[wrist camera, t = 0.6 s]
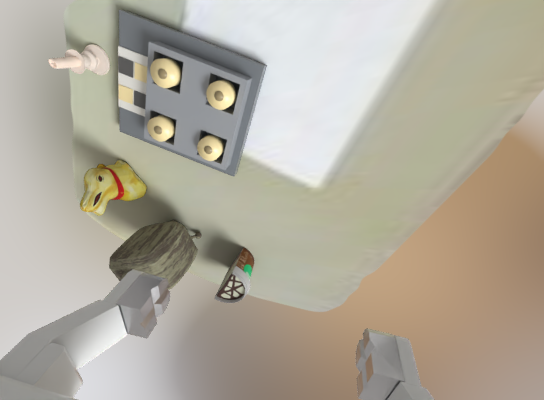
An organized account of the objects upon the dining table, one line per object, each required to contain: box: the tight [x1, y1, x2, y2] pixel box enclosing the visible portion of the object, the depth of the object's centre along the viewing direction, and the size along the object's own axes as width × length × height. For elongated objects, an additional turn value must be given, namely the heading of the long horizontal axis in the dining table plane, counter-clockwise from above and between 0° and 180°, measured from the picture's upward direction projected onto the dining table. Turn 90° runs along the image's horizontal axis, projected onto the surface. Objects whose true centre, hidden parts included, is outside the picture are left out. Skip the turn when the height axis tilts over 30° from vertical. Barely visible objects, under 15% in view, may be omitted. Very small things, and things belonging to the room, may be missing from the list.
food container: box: [215, 247, 254, 303], centre depth 67 cm, size 12×6×10 cm, turn 151°
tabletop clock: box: [109, 220, 202, 290], centre depth 59 cm, size 14×9×25 cm, turn 108°
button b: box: [197, 134, 224, 161], centre depth 50 cm, size 4×4×2 cm
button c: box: [150, 58, 182, 88], centre depth 45 cm, size 4×4×2 cm
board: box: [118, 10, 267, 176], centre depth 50 cm, size 22×26×5 cm
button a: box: [206, 80, 236, 110], centre depth 45 cm, size 4×4×2 cm
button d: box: [147, 115, 176, 142], centre depth 50 cm, size 4×4×2 cm
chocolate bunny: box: [80, 160, 147, 216], centre depth 58 cm, size 7×11×15 cm, turn 29°
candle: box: [48, 44, 110, 75], centre depth 47 cm, size 5×5×10 cm
